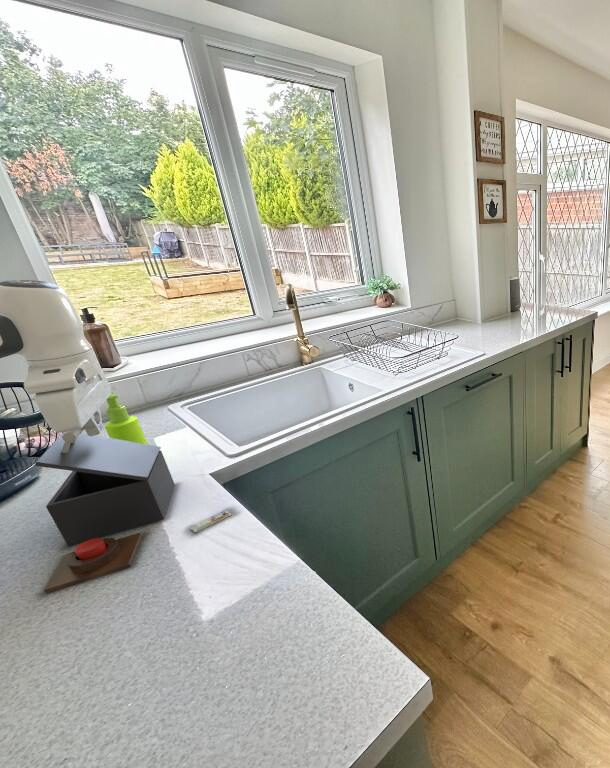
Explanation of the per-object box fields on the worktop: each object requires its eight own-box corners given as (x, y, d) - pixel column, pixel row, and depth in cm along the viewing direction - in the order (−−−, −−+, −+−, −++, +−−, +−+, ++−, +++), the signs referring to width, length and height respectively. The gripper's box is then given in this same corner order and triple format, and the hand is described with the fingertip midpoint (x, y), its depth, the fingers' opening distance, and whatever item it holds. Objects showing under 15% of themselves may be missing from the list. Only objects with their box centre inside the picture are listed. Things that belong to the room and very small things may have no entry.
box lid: (34, 465, 72) (44, 440, 72) (64, 433, 83) (72, 411, 83) (146, 481, 81) (155, 458, 81) (159, 450, 92) (167, 430, 92)
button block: (46, 595, 68) (38, 582, 67) (67, 559, 76) (60, 546, 75) (131, 568, 73) (125, 555, 72) (143, 537, 81) (137, 524, 79)
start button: (75, 563, 71) (71, 555, 71) (83, 550, 74) (78, 542, 73) (103, 555, 73) (99, 547, 72) (109, 542, 76) (105, 534, 75)
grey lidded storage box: (68, 548, 78) (45, 506, 75) (92, 508, 89) (73, 469, 86) (164, 520, 85) (147, 481, 81) (175, 486, 96) (161, 450, 92)
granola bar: (194, 535, 81) (192, 530, 80) (190, 530, 82) (189, 525, 82) (232, 516, 85) (231, 512, 85) (228, 511, 87) (227, 507, 86)
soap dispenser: (150, 457, 108) (120, 387, 100) (159, 465, 104) (129, 393, 97) (121, 468, 104) (88, 395, 96) (129, 477, 100) (95, 402, 92)
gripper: (65, 356, 85) (93, 416, 90) (18, 389, 68) (55, 460, 73) (105, 351, 88) (130, 409, 93) (69, 381, 71) (102, 450, 76)
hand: (96, 432), depth 83 cm, fingers closed
